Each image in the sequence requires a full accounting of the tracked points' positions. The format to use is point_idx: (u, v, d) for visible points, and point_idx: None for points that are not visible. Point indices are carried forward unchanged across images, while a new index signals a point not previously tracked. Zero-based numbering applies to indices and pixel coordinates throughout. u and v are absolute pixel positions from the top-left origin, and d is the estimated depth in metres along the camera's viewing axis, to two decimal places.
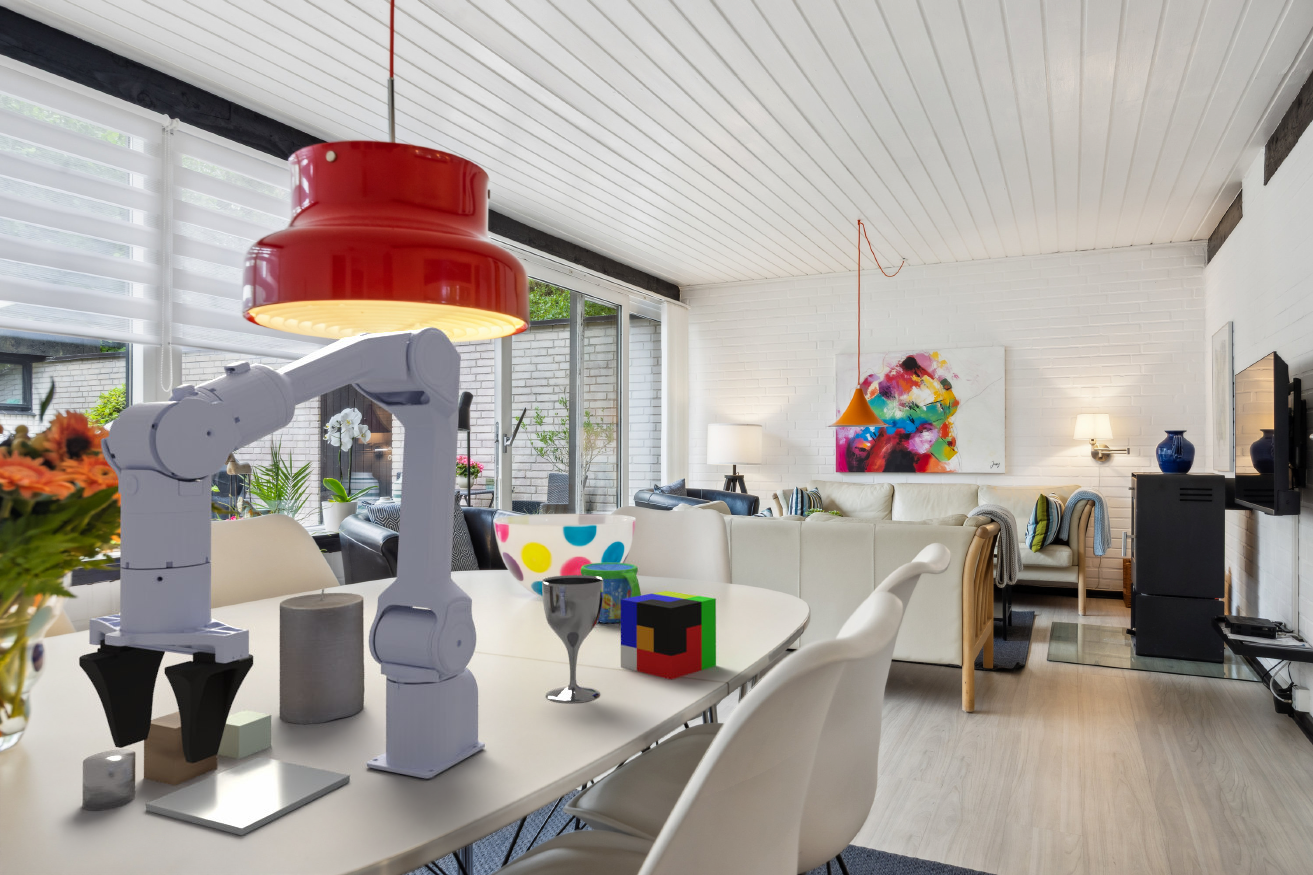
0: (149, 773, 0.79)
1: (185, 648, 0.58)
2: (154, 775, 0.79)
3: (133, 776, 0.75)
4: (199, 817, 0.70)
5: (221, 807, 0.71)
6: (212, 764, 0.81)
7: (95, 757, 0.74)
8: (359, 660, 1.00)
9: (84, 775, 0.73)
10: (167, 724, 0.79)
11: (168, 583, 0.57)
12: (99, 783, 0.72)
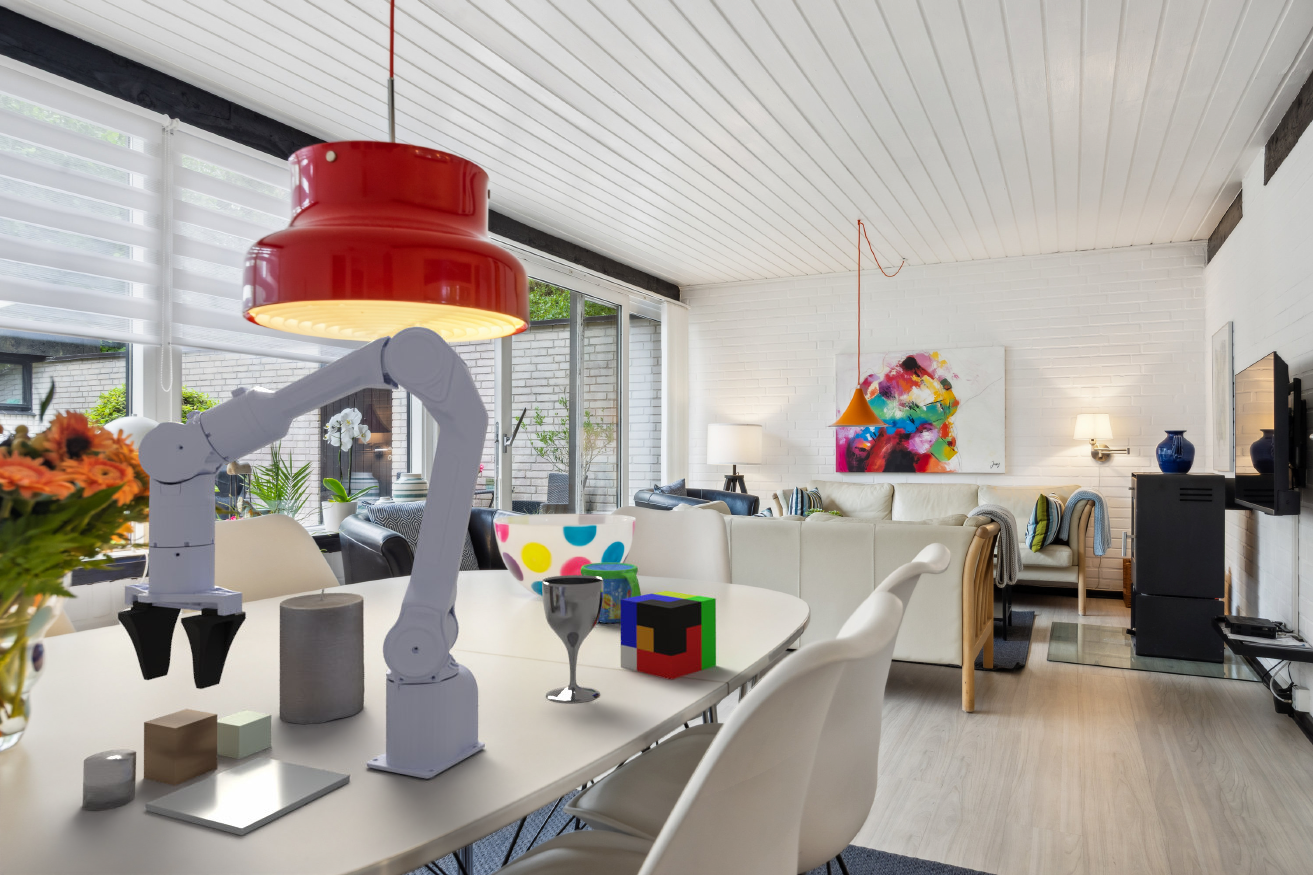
0: (149, 773, 0.79)
1: (195, 606, 0.80)
2: (154, 775, 0.79)
3: (133, 776, 0.75)
4: (199, 817, 0.70)
5: (221, 807, 0.71)
6: (212, 764, 0.81)
7: (96, 757, 0.74)
8: (359, 660, 1.00)
9: (85, 774, 0.73)
10: (167, 724, 0.79)
11: (183, 558, 0.79)
12: (99, 782, 0.72)
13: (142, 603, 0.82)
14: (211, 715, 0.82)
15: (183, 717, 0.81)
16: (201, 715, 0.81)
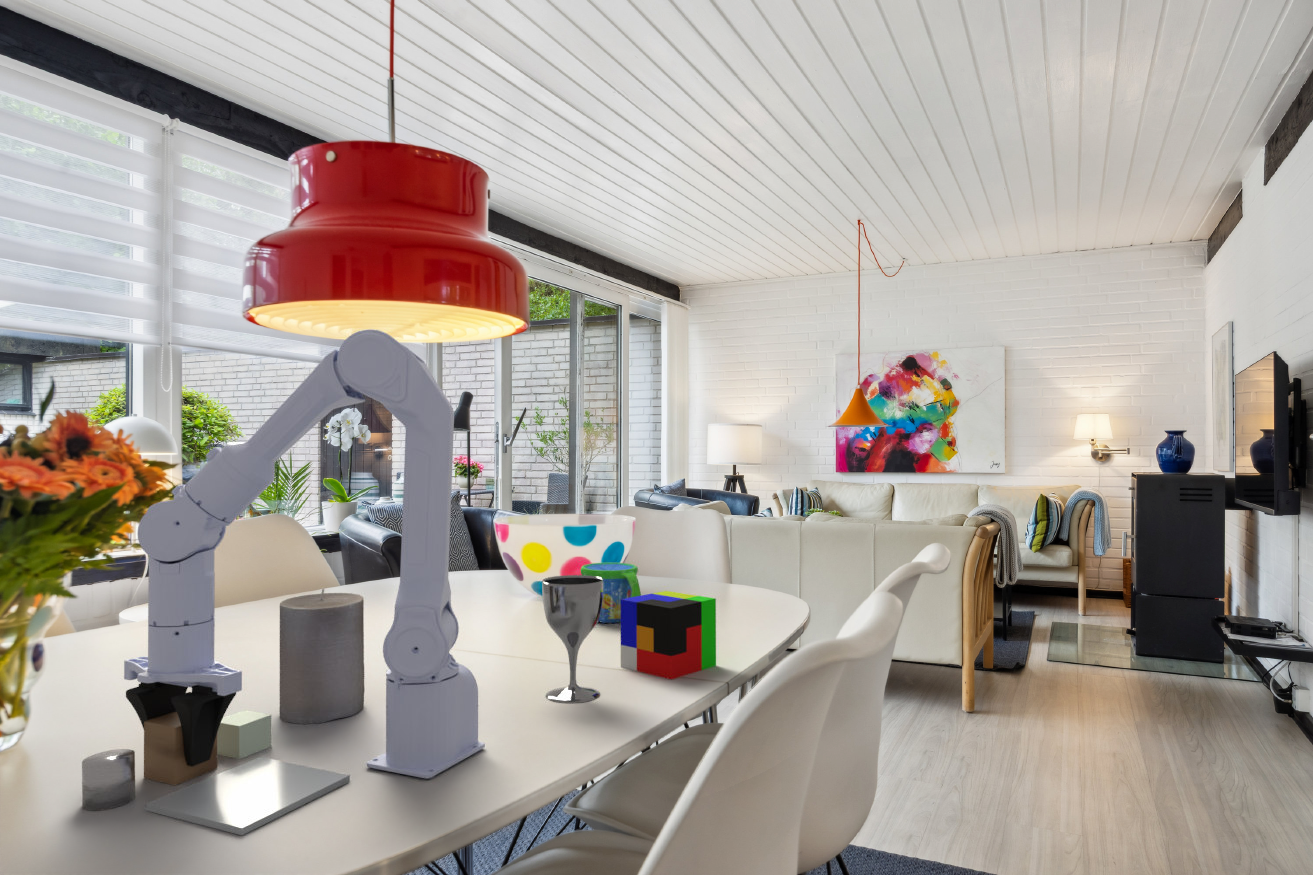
0: (149, 772, 0.79)
1: (195, 683, 0.80)
2: (154, 774, 0.79)
3: (132, 776, 0.75)
4: (199, 817, 0.70)
5: (221, 807, 0.71)
6: (212, 763, 0.81)
7: (95, 757, 0.74)
8: (359, 660, 1.00)
9: (83, 775, 0.73)
10: (167, 723, 0.79)
11: (183, 636, 0.79)
12: (98, 782, 0.72)
13: None
14: None
15: None
16: None
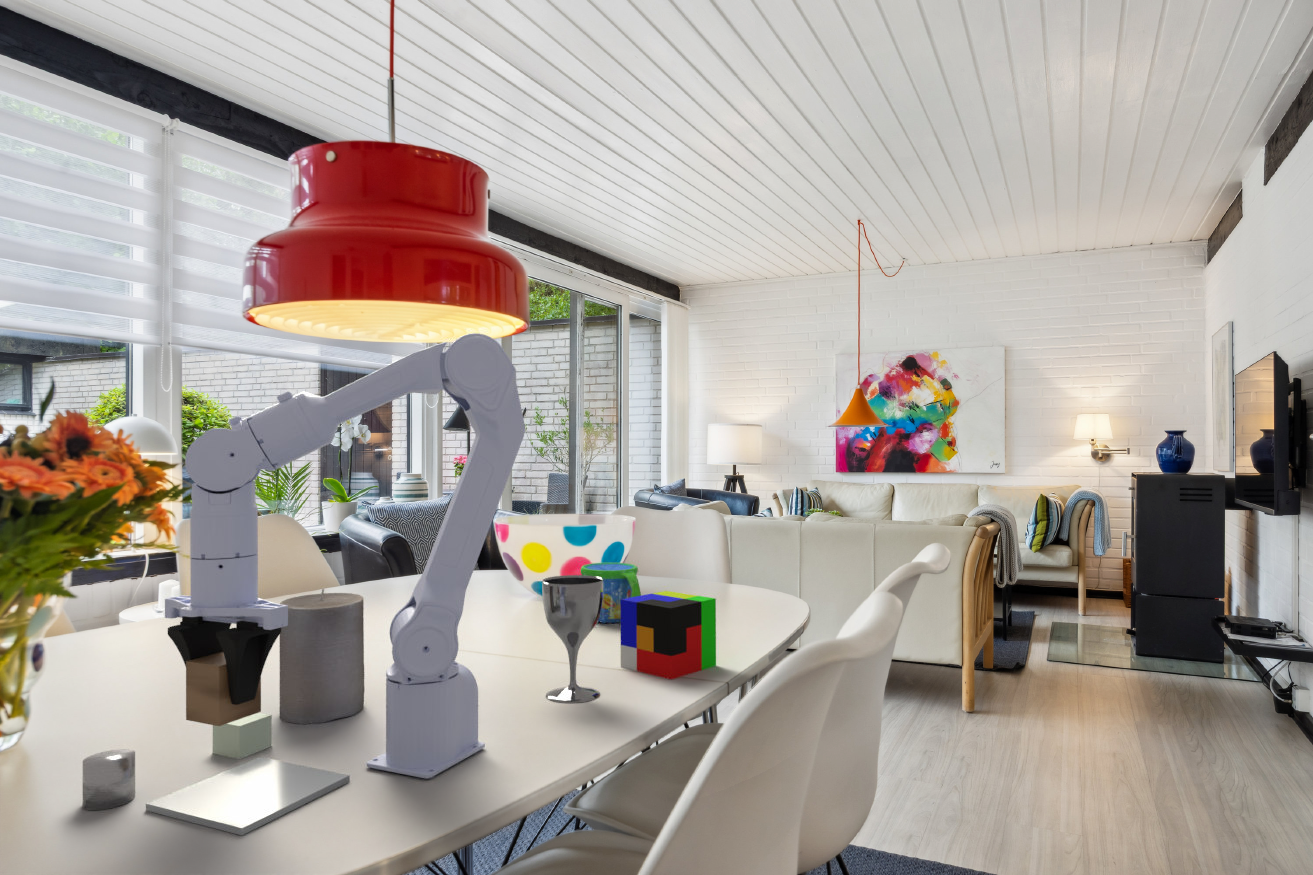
0: (192, 714, 0.76)
1: (239, 619, 0.77)
2: (197, 716, 0.76)
3: (132, 776, 0.75)
4: (199, 817, 0.70)
5: (221, 807, 0.71)
6: (256, 706, 0.78)
7: (96, 756, 0.74)
8: (359, 660, 1.00)
9: (83, 774, 0.73)
10: (209, 662, 0.76)
11: (227, 570, 0.76)
12: (97, 782, 0.72)
13: (183, 617, 0.79)
14: None
15: None
16: None
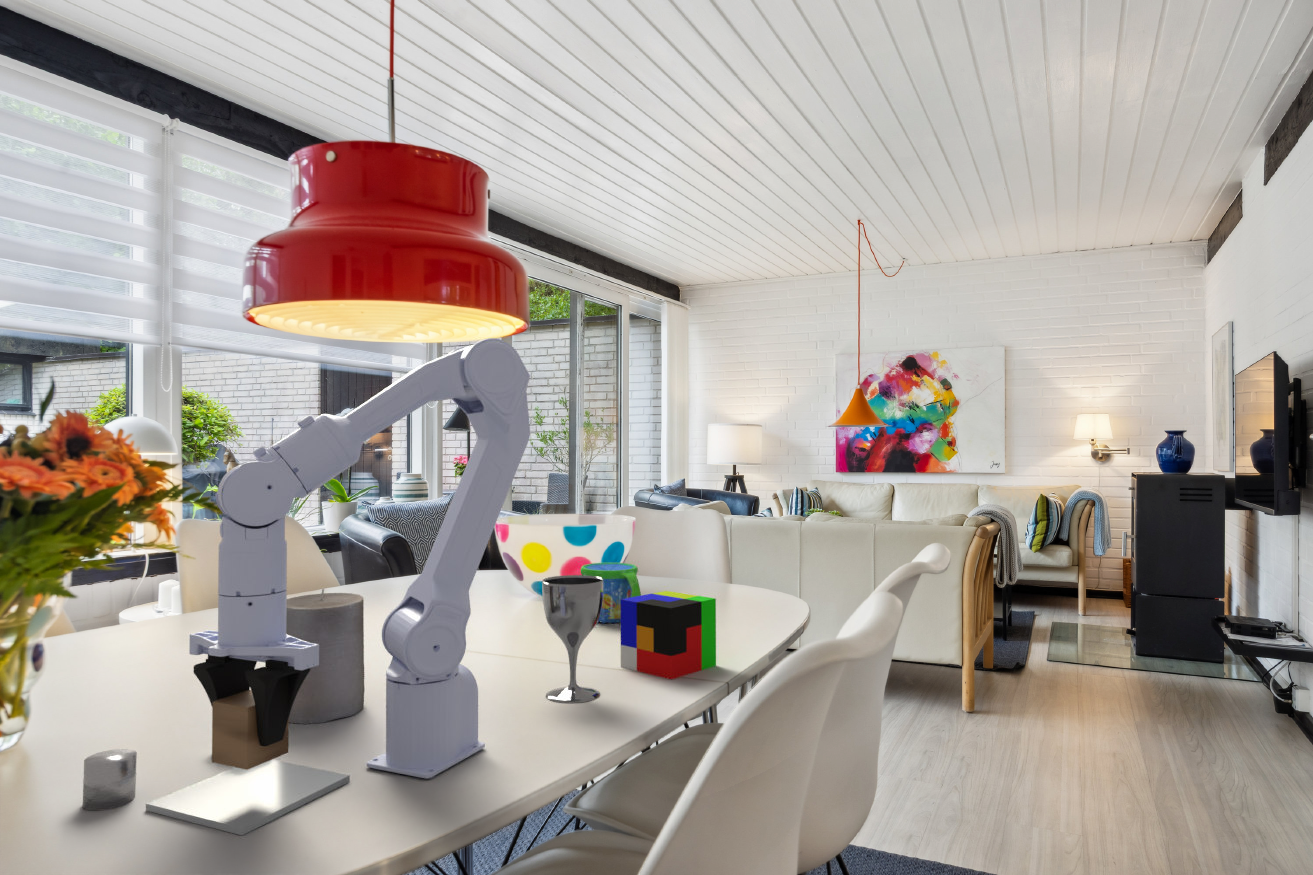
0: (218, 756, 0.74)
1: (268, 658, 0.74)
2: (224, 758, 0.74)
3: (133, 777, 0.75)
4: (199, 817, 0.70)
5: (221, 807, 0.71)
6: (283, 747, 0.76)
7: (97, 756, 0.74)
8: (359, 660, 1.00)
9: (84, 773, 0.73)
10: (237, 703, 0.74)
11: (256, 607, 0.73)
12: (97, 782, 0.72)
13: (209, 654, 0.77)
14: None
15: None
16: None
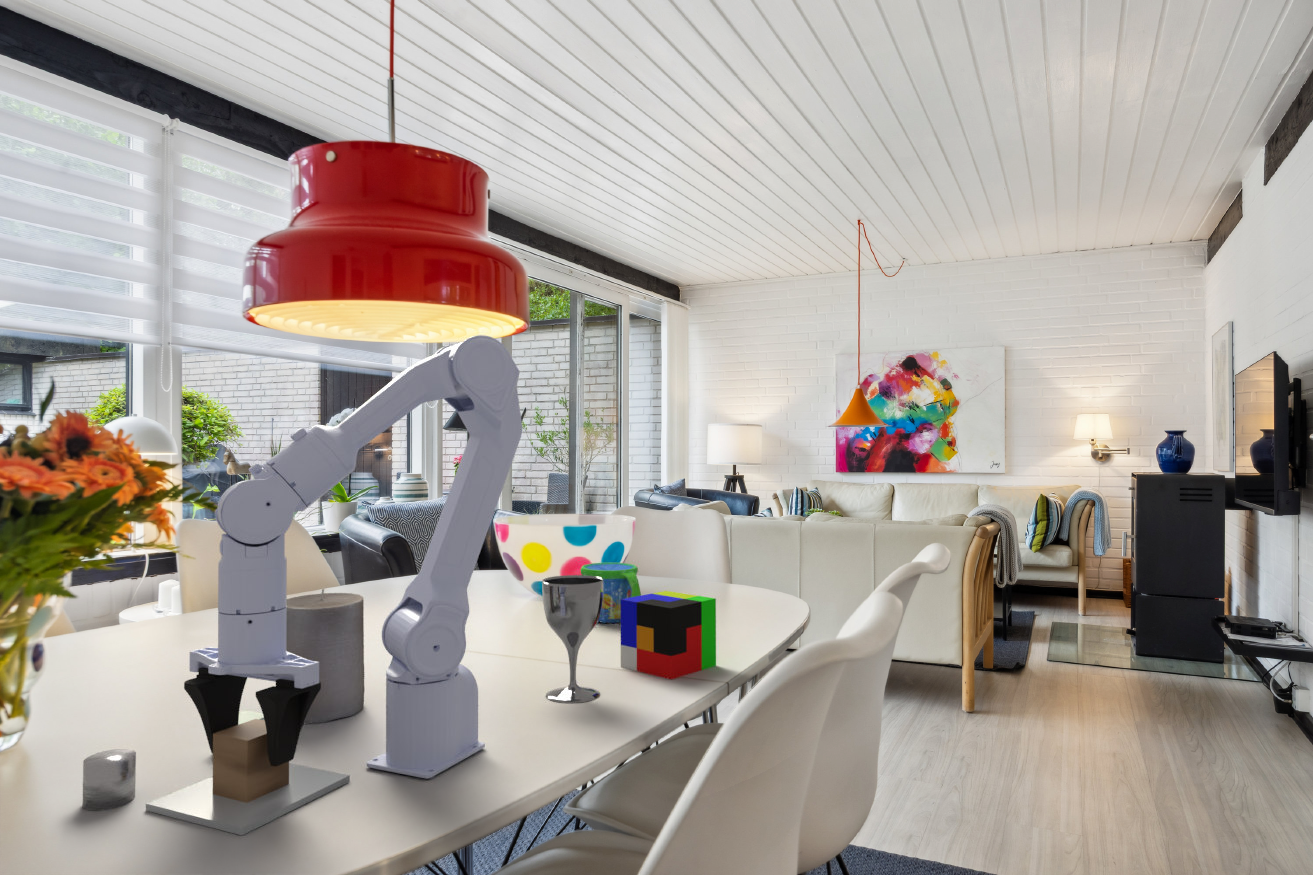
0: (219, 788, 0.74)
1: (268, 676, 0.74)
2: (224, 790, 0.74)
3: (132, 777, 0.74)
4: (199, 817, 0.70)
5: (221, 807, 0.71)
6: (284, 779, 0.76)
7: (97, 756, 0.74)
8: (359, 660, 1.00)
9: (83, 774, 0.73)
10: (237, 735, 0.74)
11: (256, 625, 0.73)
12: (96, 783, 0.72)
13: None
14: None
15: (253, 728, 0.76)
16: None
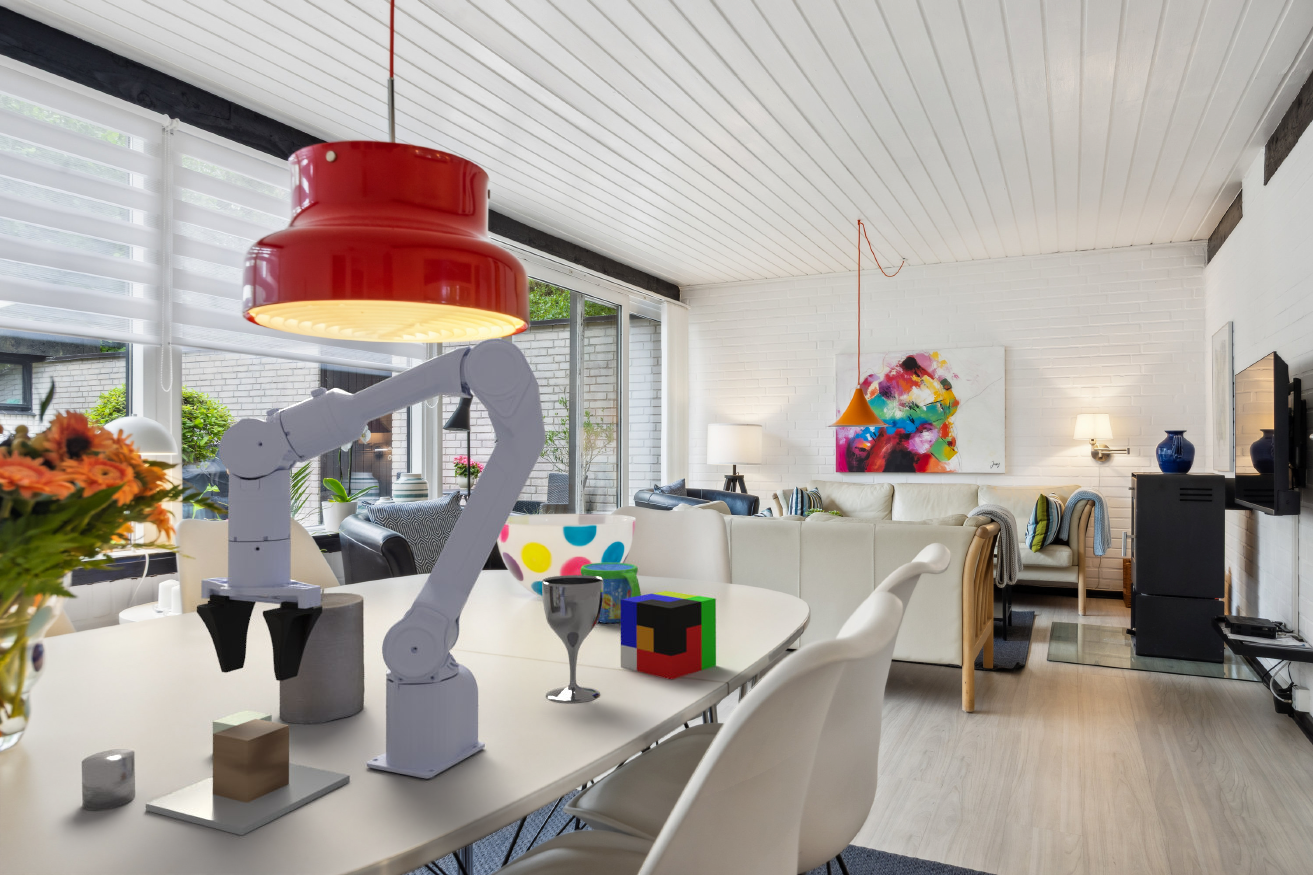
0: (219, 788, 0.74)
1: (274, 599, 0.81)
2: (224, 790, 0.74)
3: (130, 777, 0.74)
4: (199, 817, 0.70)
5: (221, 807, 0.71)
6: (284, 779, 0.76)
7: (96, 756, 0.74)
8: (359, 660, 1.00)
9: (82, 774, 0.73)
10: (237, 735, 0.74)
11: (263, 552, 0.80)
12: (94, 783, 0.72)
13: (219, 597, 0.83)
14: (283, 726, 0.76)
15: (253, 728, 0.76)
16: (273, 726, 0.76)
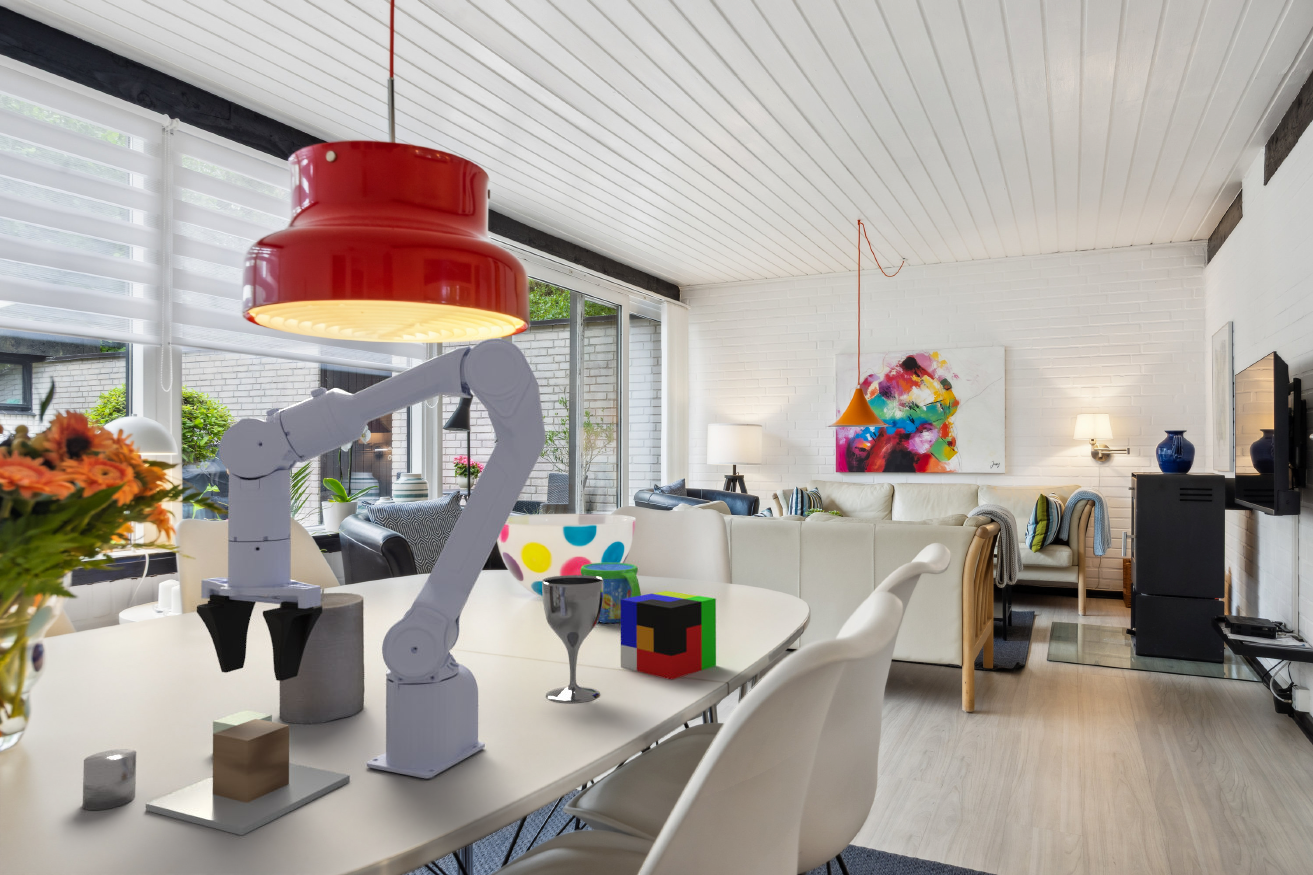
0: (219, 788, 0.74)
1: (274, 599, 0.81)
2: (224, 790, 0.74)
3: (131, 777, 0.74)
4: (199, 817, 0.70)
5: (221, 807, 0.71)
6: (284, 779, 0.76)
7: (98, 755, 0.75)
8: (359, 660, 1.00)
9: (83, 772, 0.73)
10: (237, 735, 0.74)
11: (263, 552, 0.80)
12: (94, 781, 0.72)
13: (219, 597, 0.83)
14: (283, 726, 0.76)
15: (253, 728, 0.76)
16: (273, 726, 0.76)
